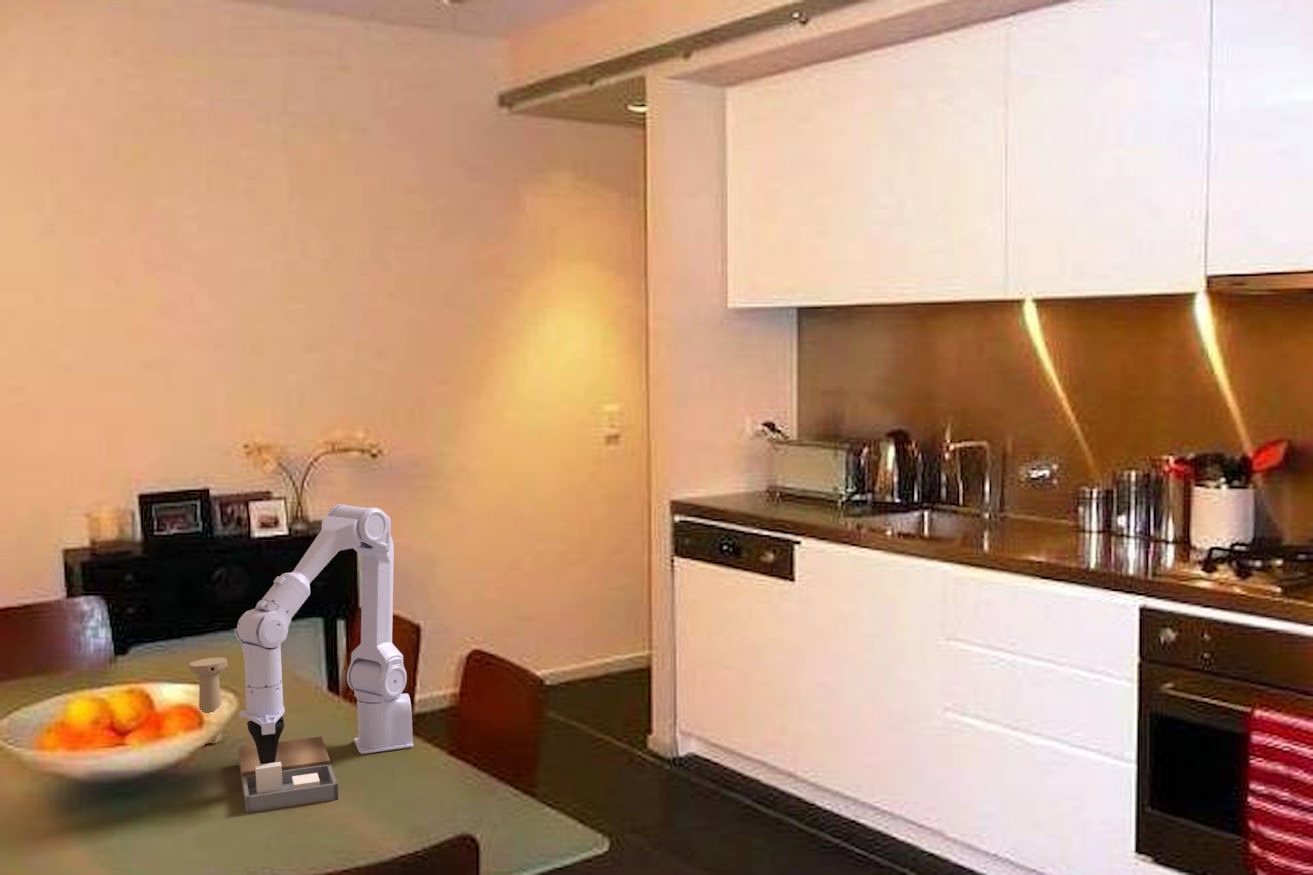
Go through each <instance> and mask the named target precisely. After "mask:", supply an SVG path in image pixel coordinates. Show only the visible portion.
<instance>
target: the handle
mask: <svg viewBox="0 0 1313 875" xmlns="http://www.w3.org/2000/svg"><path fill="white" fill-rule="evenodd" d="M188 665H189V666H188V667H189V671H190V672H191V673H193V674H195V675H197V676H198V680H199V682H198V684H199V689H198V690H199V692H198V694H199V695H198V696H199V697H198V698H199V700H198V710H199V709H200V710H202V712H204V713H210V712H214V711H215V710H216V709H217V708H219V706H220V705H221V703H222V696H221V686H220V673H221V672H223V671H224V670H225V669H226V668H227V667H228V659H227V658H226V657H209V658H203V659H199V660H194V661H192V662H189V664H188ZM222 731H223V730H222ZM222 731H221V732H220V733H219V734H218V736H217V738H215V740H213V743H214V742H215V743H216V744H217V743H220V742H221V741H222V738H223V734H222Z"/></svg>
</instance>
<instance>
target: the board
mask: <svg viewBox="0 0 1313 875" xmlns="http://www.w3.org/2000/svg"><path fill="white" fill-rule="evenodd" d="M326 747H327V746H325V743H324V739H323V737H322V736H314V737H308V738H307V737H306V738H299V739H294V740H284V741H278V746H277V753H276V759H275V762H281V765H282V771H284V770H291V769H298V768H305V767H312V766H319V765H326V764H331V759H330V755H329V754H328V751H327V748H326ZM237 748H238V749H237V750H238V768H239V774H240V781H241V786H242V787H241V788H242V789H243V783H242V776H248V775H255V765H260V761H259V757H258V752H257V747H256V744H254V745H247V746H240V747H237Z"/></svg>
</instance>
